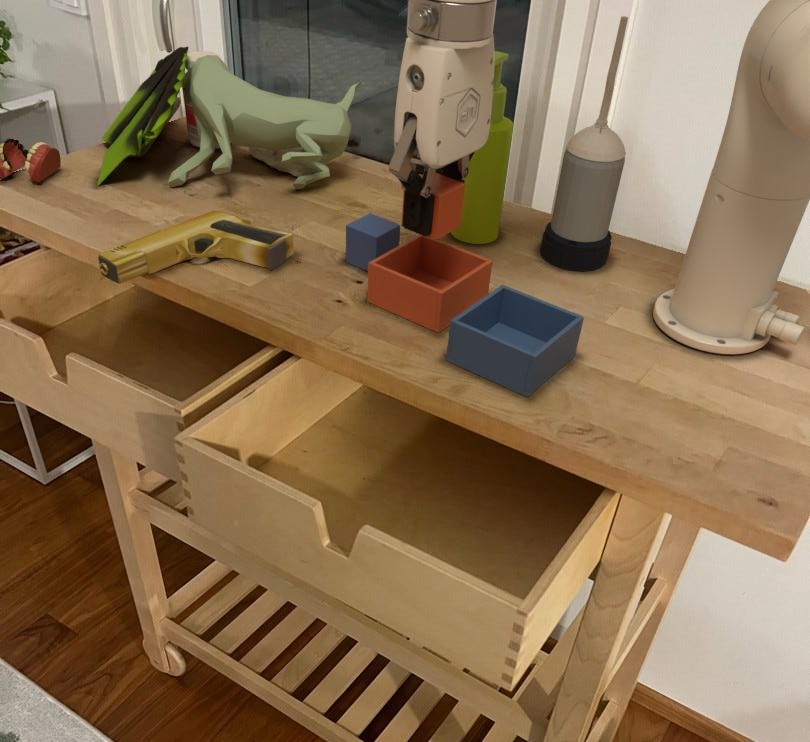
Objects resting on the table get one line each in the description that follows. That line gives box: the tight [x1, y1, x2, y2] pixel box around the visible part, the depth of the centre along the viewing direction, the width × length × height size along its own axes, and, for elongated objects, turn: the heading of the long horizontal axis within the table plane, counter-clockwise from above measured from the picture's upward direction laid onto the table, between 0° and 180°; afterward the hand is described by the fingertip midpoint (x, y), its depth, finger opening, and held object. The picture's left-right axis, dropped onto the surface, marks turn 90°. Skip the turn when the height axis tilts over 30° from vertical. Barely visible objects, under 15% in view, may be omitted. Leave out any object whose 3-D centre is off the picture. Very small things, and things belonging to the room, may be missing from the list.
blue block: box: [345, 212, 401, 272], centre depth 94 cm, size 4×4×4 cm
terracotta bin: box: [366, 234, 494, 334], centre depth 89 cm, size 10×10×4 cm
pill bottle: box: [181, 50, 232, 150], centre depth 114 cm, size 6×6×11 cm
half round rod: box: [129, 96, 182, 158], centre depth 119 cm, size 4×20×2 cm, turn 179°
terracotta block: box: [400, 172, 466, 240], centre depth 83 cm, size 4×4×4 cm
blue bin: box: [445, 284, 585, 398], centre depth 82 cm, size 10×10×4 cm
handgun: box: [97, 210, 295, 285], centre depth 92 cm, size 2×19×12 cm
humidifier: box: [539, 15, 629, 272], centre depth 91 cm, size 8×8×25 cm
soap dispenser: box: [450, 50, 514, 245], centre depth 95 cm, size 6×7×20 cm
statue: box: [167, 55, 362, 190], centre depth 109 cm, size 27×13×20 cm
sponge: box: [248, 147, 324, 178], centre depth 114 cm, size 12×5×4 cm
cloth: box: [97, 46, 189, 187], centre depth 109 cm, size 20×22×2 cm
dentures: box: [0, 137, 62, 183], centre depth 106 cm, size 6×4×8 cm
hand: (431, 221), depth 84 cm, fingers closed on terracotta block, 4 cm apart
